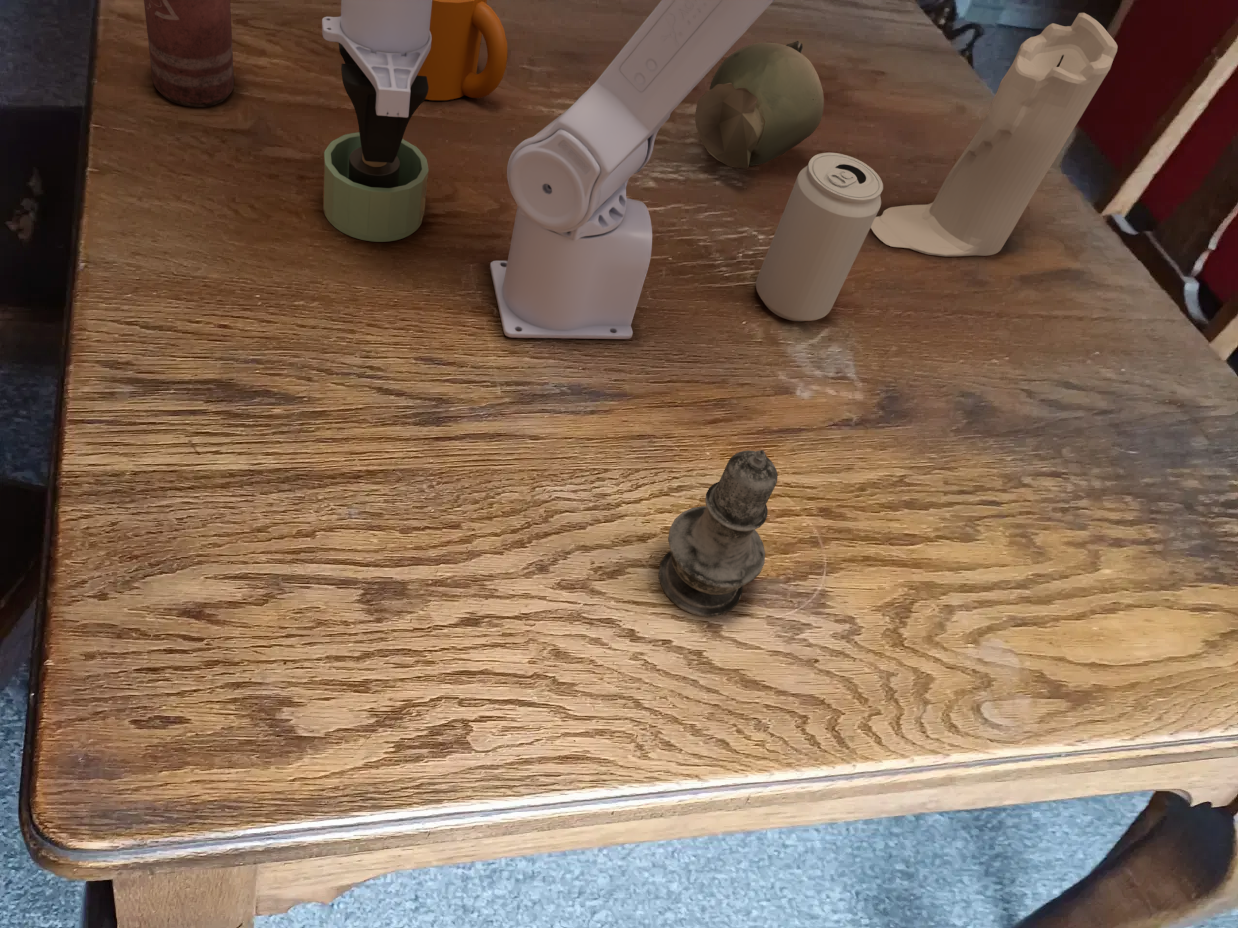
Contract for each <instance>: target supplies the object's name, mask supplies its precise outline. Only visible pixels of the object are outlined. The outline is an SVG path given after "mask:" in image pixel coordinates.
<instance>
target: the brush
mask: <svg viewBox="0 0 1238 928" xmlns="http://www.w3.org/2000/svg"><path fill="white" fill-rule="evenodd" d="M399 169H400V161H399V159H398V157H397V156H396V158H395V160H394V162H393V163H386V162H370V161H365V159H364V156H363V153H362V148H361V147H360V148H357V149H355V150H354V151H353V152H352V153H351V154H350V157H349V180H351V181H352V182H355V183H358V184H362V185H365V186H369V187H377V188H393V187H398V181H399Z"/></svg>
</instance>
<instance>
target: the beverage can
mask: <svg viewBox="0 0 1238 928" xmlns="http://www.w3.org/2000/svg"><path fill="white" fill-rule="evenodd" d="M883 190H884V183H883V181H882V178H881V177H880V175H879V174H878V173H877V171H875V170H874V169H873V168H872V167H871V166H870V165H868V164H866V163H865V162H863V161H862V160H860V159H857V158H855V157H853V156H850V155H847V154H843V153H839V152H822V153H818V154H815V155H813V157H811V158H810V159H809V162H808V164H807V165H806V166H804V167H803V168H802V169H801V170H800V171H799V172H798V174H797V177H796V179H795V182H794V185H793V187H792V190H791V192H790V195H789V197H788V200H787V202H786V204H785V208H784V209H783V212H782V215H781V217H780V219H779V221H778V224H777V227H776V229H775V231H774V235H773V236H772V240H771V242H770V244H769V247H768V250H767V252H766V255H765V257H764V260H763V262H762V265H761V267H760V270H759V272H758V275H757V277H756V280H755V288H756V292H757V295H758V296H759V298H760V299H761V301H762V302H763V304H764V305H765V306H766V308H767V309H768V310H769V311H770V312H771V313H773V314H775V315H776V316H778V317H780V318H782V319H785V320H789V321H791V322H810V321H811V322H813V321H817V320H820V319H822V318H825V317H826V316H827V315H829V313H830V312H831V310H832V309H833V307H834V305H835V302H836V300H837V298H838V296H839V294H840V292H841V291H842V288H843V286H844V283H845V282H846V280H847V277H848V275H849V273H850V271H851V270H852V267H853V265H854V263H855V261H856V259H857V257H858V254H859V252H860V250H861V248H862V246H863V244H864V242H865V240H866V238H867V236H868V234H869V232H870V229H871V225H872V223H873V221H874V219H875V217H877V215H878V213H879V211H880V208H881V205H882V199H881V194H882V192H883Z"/></svg>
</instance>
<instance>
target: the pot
mask: <svg viewBox="0 0 1238 928" xmlns="http://www.w3.org/2000/svg"><path fill="white" fill-rule="evenodd" d="M360 147H361V142H360V133H359V131H357V132H351V133H345V134H343V135H341V136H339V137H337V138H335V139H333V140H331V141H330V143H329V144H328V145H327V147H326V149H325V150H324V151H323V173H322V175H323V176H322V179H323V180H322V202H323V203H322V204H323V205H322V210H323V213H324V216H325V218H326V220H327V221H328V222H329V224H331V225H332V226H333V227H334V228H335V229H336V230H338V231H339V232H341V233H342V234H345V235H347V236H349V237H351V238H354V239H357V240H362V241H367V242H372V243H374V242H375V243H386V242H387V243H388V242H394V241H398V240H401V239H405V238H408V237H410V236H411V235H412V234H413V233H415V232H416V231H417V230H418V229H419V228H420V227H421V225H422V223H423V220H424V216H425V209H426V200H427V190H428V181H429V172H430V169H429V164H428V159H427V157H426V156H425V154H424V153H423V152H422V151H421V150H420V148H419V147H417V146H416V145H414V144H412V143H410V142H409V141H408V140H405V139H404V138H402V141H401V144H400V147H399V150H398V153H397V155H396V156H397V157H398V159H399V161H400V169H399V181H398V187H393V188H377V187H369V186H365V185H362V184H358V183H355V182H352V181H351V180H349V157H350V154H351V153H352V152H353V151H354V150H355V149H357V148H360Z"/></svg>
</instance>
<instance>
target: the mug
mask: <svg viewBox="0 0 1238 928" xmlns="http://www.w3.org/2000/svg"><path fill="white" fill-rule="evenodd" d="M429 30H430V32H431V35H432V40H431V49H430V51H429V54H428V55H427V57H426V59H425V61H424V63H423V65H422V67H421V68H420V70H419V72H418V74H417V75H418V76H427V81H428V86H429V89H428V93H427V96H426V98H425V100H429V101H449V100H454V99H455V100H456V99H460V98H462V97H468V98H470V99H482V98H485V97H487V96H489V95H490V94H492V93H493V92H494V91H495V90H496V89H497V88H498V87H499V86H500V83H501V82H502V80H503V78H504V75H505V72H506V69H507V63H508V54H509V53H508V40H507V36H506V31H505V28H504V26H503V24H502V21H501V19H500V18H499V17H498V15H497V13H496V12H495V11H494V9H493V8H492V7H491V6H490V5H489V4H488V0H432V8H431V19H430V29H429ZM482 37H483V39H484V41H485V45H486V54H487V57H486V63H485V66H484V68H483V70H482V71H481V72H479V73H478V72H477V71H478V64H479V59H480V58H479V57H480V50H481V43H482Z"/></svg>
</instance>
